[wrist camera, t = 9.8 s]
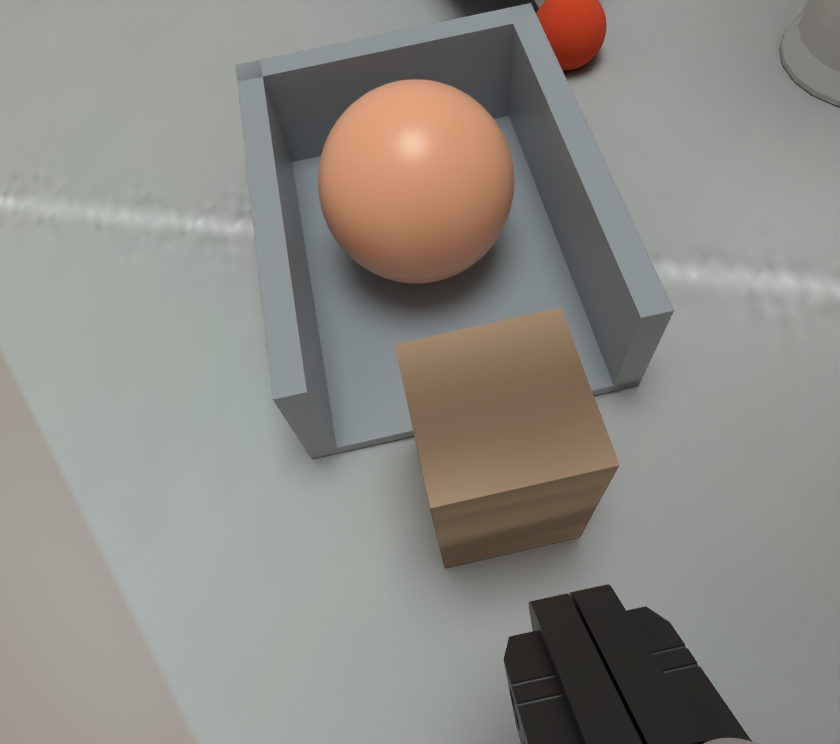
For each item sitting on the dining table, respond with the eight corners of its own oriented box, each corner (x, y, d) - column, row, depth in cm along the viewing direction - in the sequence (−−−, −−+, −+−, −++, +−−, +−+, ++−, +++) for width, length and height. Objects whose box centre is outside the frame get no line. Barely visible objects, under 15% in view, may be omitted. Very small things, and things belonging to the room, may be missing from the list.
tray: (638, 385, 24) (674, 310, 19) (311, 459, 24) (273, 399, 19) (523, 105, 31) (530, 2, 26) (271, 159, 31) (235, 65, 26)
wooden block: (579, 537, 22) (618, 465, 15) (444, 568, 21) (430, 508, 15) (540, 414, 24) (560, 307, 17) (417, 441, 24) (394, 344, 17)
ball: (522, 132, 19) (526, 313, 24) (501, 31, 23) (508, 200, 28) (280, 163, 19) (335, 332, 24) (306, 58, 24) (348, 219, 29)
